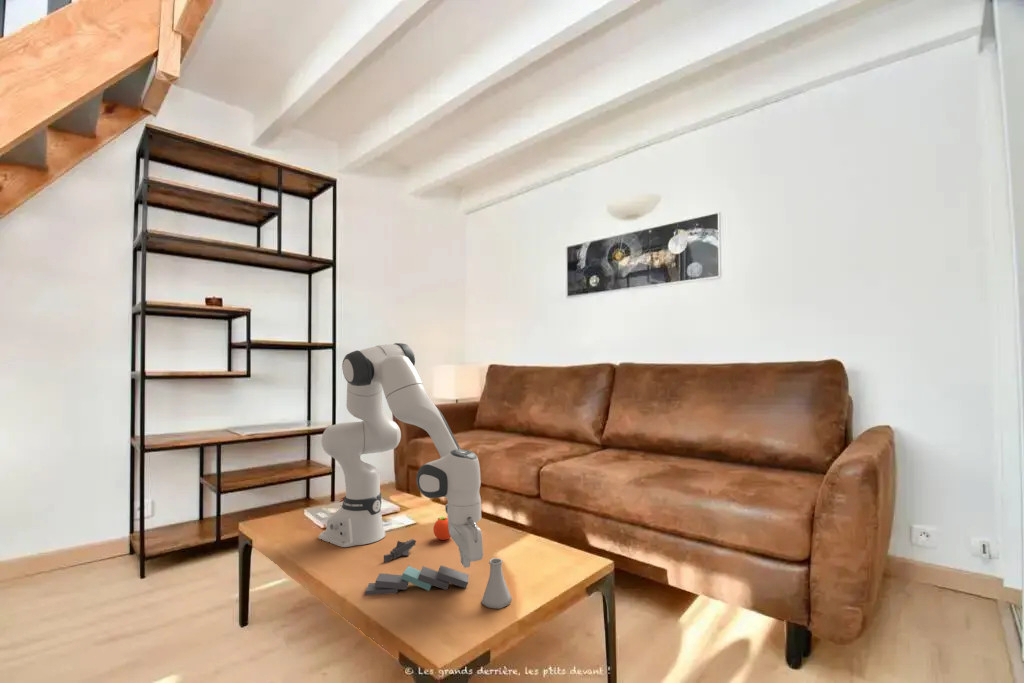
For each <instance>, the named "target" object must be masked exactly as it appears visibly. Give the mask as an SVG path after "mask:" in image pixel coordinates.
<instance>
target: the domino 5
mask: <svg viewBox="0 0 1024 683" xmlns="http://www.w3.org/2000/svg"><path fill="white" fill-rule="evenodd" d="M469 576H470V575H469V574H468V573H466V572H463V571H459V570H456V569H452V568H450V567H447V566H444V565H440V566H439V569H438V576H437V579H439V580H442V581H445V582H448V583H449V584H452V585H454V586H458V587H460V588H464V589H466V588H467V587H468V584H469Z"/></svg>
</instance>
